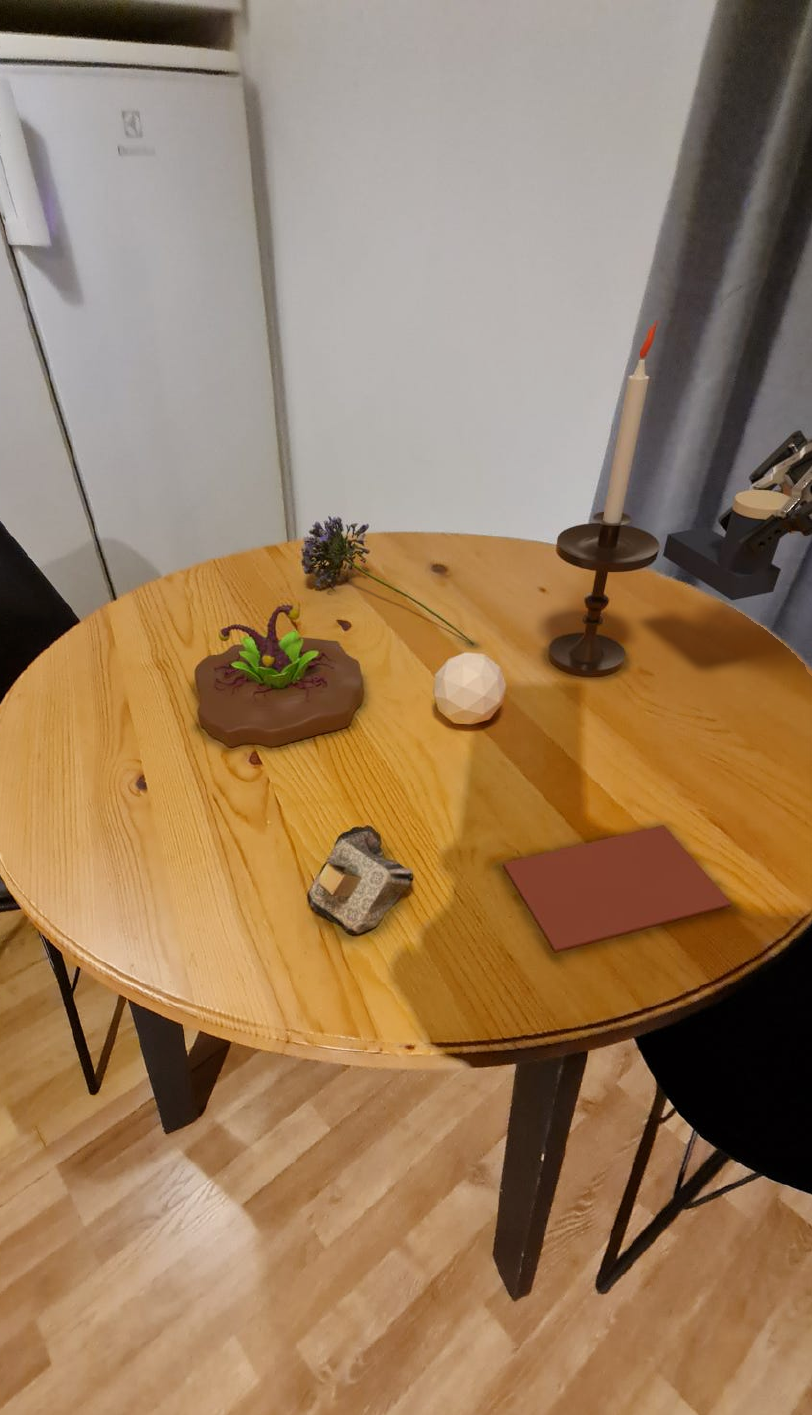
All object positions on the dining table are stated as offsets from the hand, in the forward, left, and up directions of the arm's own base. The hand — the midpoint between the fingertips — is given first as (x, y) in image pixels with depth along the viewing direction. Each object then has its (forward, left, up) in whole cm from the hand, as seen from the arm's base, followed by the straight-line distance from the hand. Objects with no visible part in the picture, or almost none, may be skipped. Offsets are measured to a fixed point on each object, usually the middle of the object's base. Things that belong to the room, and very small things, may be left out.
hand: (733, 538), depth 75 cm
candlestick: (+12, -4, -17) cm, 21 cm away
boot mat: (+10, +34, -17) cm, 39 cm away
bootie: (0, -3, -5) cm, 6 cm away
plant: (+47, +10, -17) cm, 51 cm away
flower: (+39, -15, -17) cm, 45 cm away
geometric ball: (+25, +11, -17) cm, 32 cm away
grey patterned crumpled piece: (+31, +38, -17) cm, 52 cm away
